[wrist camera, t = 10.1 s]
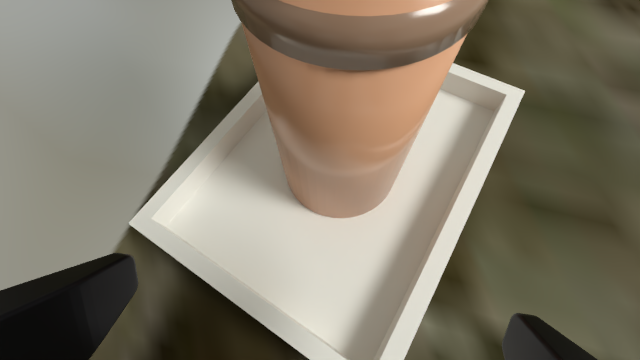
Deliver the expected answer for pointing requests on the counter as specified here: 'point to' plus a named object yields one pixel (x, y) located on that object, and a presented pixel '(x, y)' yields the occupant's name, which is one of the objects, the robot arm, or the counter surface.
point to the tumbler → (350, 88)
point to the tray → (331, 225)
